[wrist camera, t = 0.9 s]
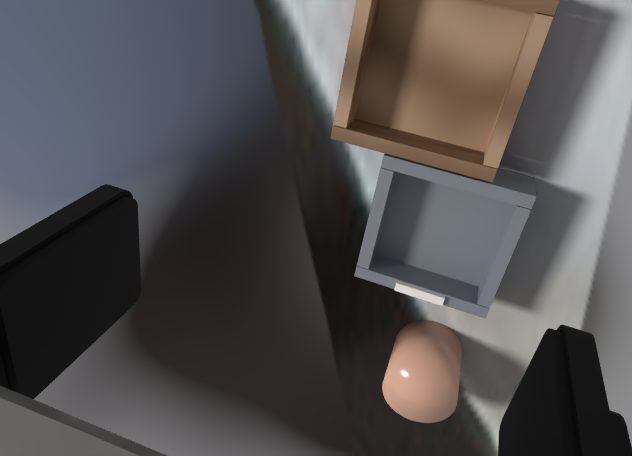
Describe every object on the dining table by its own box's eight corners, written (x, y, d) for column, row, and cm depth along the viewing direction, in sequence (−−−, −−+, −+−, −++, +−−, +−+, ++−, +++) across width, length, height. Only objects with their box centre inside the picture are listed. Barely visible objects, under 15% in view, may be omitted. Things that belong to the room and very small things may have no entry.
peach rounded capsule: (404, 311, 38) (391, 354, 34) (471, 334, 37) (467, 381, 33) (389, 360, 41) (375, 406, 37) (451, 382, 40) (445, 432, 36)
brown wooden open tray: (377, -41, 29) (363, -41, 26) (555, -6, 27) (560, -3, 24) (344, 124, 33) (330, 138, 31) (493, 163, 32) (492, 182, 29)
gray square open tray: (393, 140, 33) (382, 156, 30) (534, 177, 31) (536, 199, 28) (364, 254, 37) (353, 278, 34) (486, 293, 35) (485, 321, 33)
